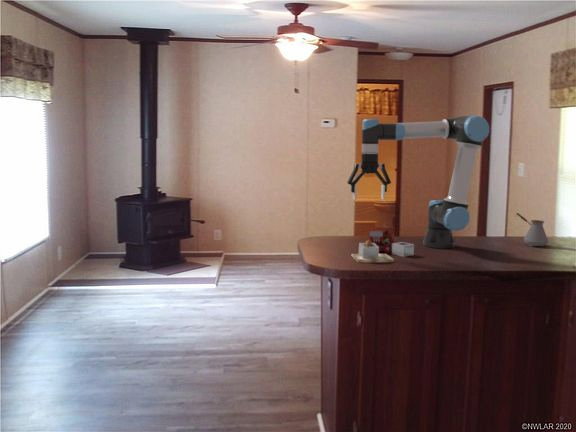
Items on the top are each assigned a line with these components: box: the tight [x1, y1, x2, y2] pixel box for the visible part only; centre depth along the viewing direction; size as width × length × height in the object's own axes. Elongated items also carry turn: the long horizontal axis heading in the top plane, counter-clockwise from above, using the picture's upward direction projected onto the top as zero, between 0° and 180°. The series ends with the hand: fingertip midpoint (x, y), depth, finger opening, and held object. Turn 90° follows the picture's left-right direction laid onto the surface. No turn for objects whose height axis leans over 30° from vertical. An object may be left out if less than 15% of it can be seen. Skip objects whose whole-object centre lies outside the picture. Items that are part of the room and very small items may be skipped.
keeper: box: [350, 240, 395, 263], centre depth 262 cm, size 16×12×8 cm
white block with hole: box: [391, 241, 415, 258], centre depth 274 cm, size 7×7×5 cm
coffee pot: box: [515, 212, 549, 247], centre depth 308 cm, size 21×12×15 cm, turn 21°
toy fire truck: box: [367, 229, 395, 254], centre depth 279 cm, size 7×12×10 cm, turn 96°
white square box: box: [358, 242, 380, 259], centre depth 261 cm, size 7×7×5 cm
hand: (368, 199), depth 274 cm, fingers open, 13 cm apart
